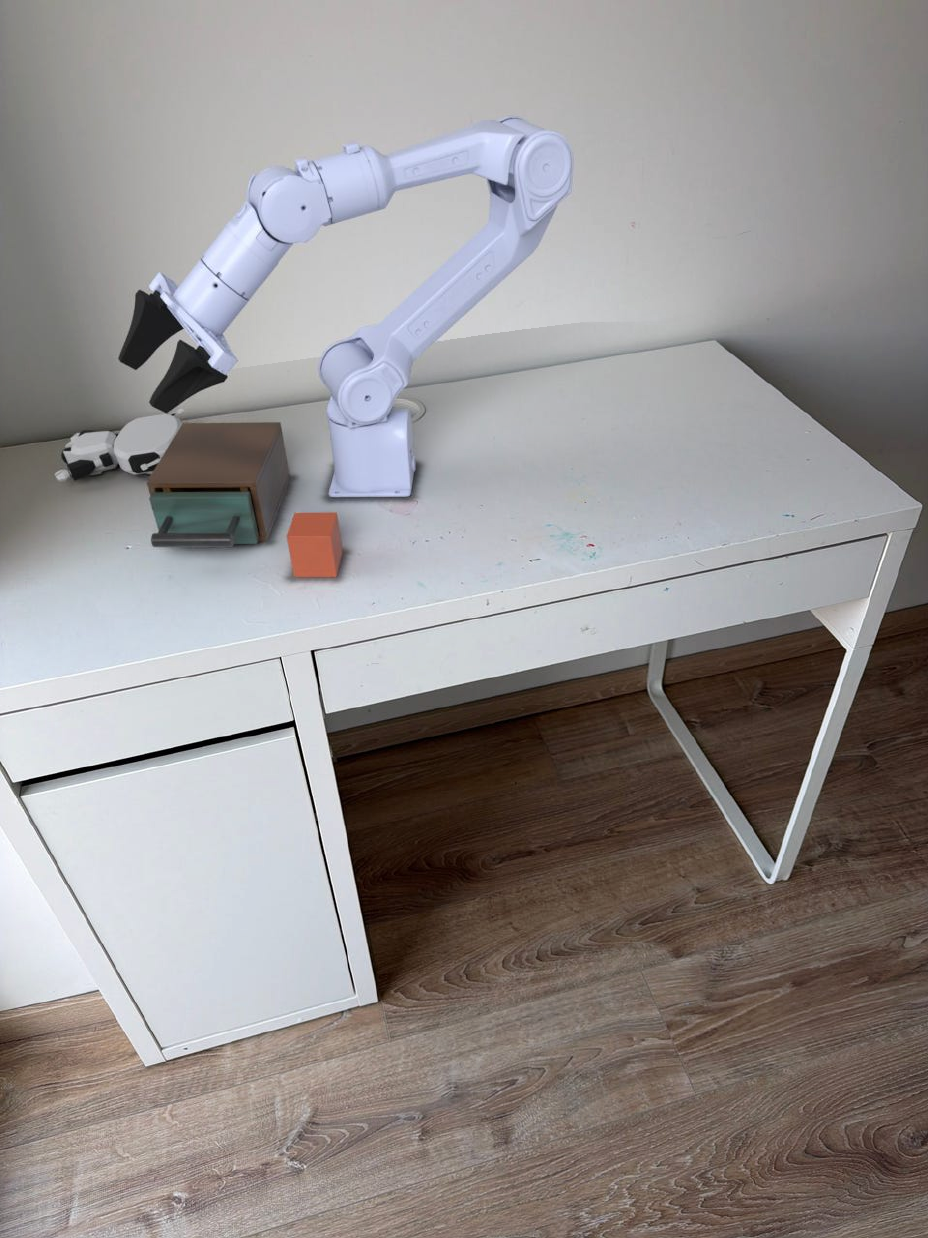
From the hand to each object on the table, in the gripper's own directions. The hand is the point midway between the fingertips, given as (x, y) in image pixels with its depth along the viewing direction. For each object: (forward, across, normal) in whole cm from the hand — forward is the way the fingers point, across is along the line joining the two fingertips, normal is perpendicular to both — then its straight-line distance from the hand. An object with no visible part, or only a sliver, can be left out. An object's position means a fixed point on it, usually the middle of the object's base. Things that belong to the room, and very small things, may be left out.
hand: (142, 385), depth 89 cm
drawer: (+7, +9, +12) cm, 16 cm away
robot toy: (+14, -11, +14) cm, 23 cm away
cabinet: (+6, +6, +15) cm, 17 cm away
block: (+1, +21, +14) cm, 25 cm away
